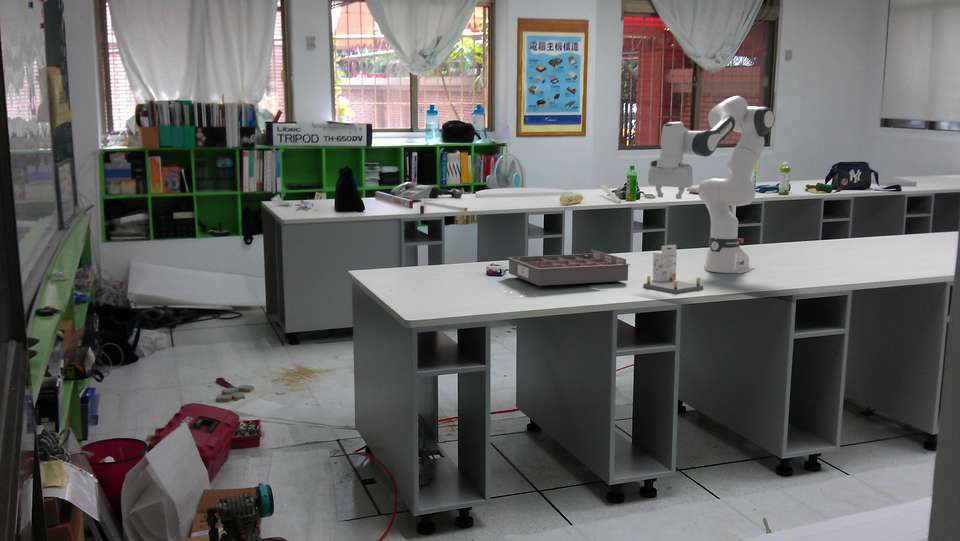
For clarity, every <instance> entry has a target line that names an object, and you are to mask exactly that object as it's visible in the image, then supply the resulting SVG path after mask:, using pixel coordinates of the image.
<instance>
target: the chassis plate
mask: <svg viewBox="0 0 960 541" xmlns="http://www.w3.org/2000/svg"><path fill="white" fill-rule="evenodd" d="M646 277H647V278H646V283H643V284H642V287H643V288H644V289H650V290H655V291H660V292H665V293H670V294H676V295H678V294H681V293H689V292H694V291H700V290H704V285H703V284H701V277H700V276H699V277H698V276H697V277H696V283H692V282H686V281H681V280H677V279H676V280H673V273H670V280H665V281H653V282H652V281H651V275H647V276H646Z"/></svg>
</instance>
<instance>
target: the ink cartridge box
mask: <svg viewBox="0 0 960 541" xmlns="http://www.w3.org/2000/svg"><path fill="white" fill-rule="evenodd" d="M669 248H670V249H669ZM677 254H678V253H677V244H668V245H661V251H653V256H652V257H653V258H652V259H653V261H652V262H653V263H652V281H653V282H658V281H665V280H670V273H673V280H676V281H677V278H676V277H677V275H676V274H677Z"/></svg>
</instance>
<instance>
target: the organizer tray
mask: <svg viewBox="0 0 960 541" xmlns="http://www.w3.org/2000/svg"><path fill="white" fill-rule="evenodd" d="M506 259H508V274H510V275H512V276H514V277H517V278H519V279H522V280H524V281H527V282H529V283H531V284H534V285H536V286H554V285H555V286H557V285H559V286H560V285H576V284H590V283H610V282H612V283H613V282H626V281H627V282H628V280H629V266H631V264H630V263H627V259H626V258H623V257H619V256H617V255H613V254H610V253H609V254H608V253H606V252H602V251H598V250H594V249H591V250H590V253H574V254H573V253H571V254H570V253H569V254H553V255H530V256H529V255H527V256H510V257H509V256H508V257H506Z"/></svg>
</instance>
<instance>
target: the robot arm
mask: <svg viewBox="0 0 960 541" xmlns="http://www.w3.org/2000/svg"><path fill="white" fill-rule="evenodd" d="M748 104H749V103H748V102H747V100H746V99H745V98H744V97H742V96H740V95H734V96H731V97H729V98H726V99H724V100H722V101H721V102H719V103H718V104H716V105H715V106H713V107H712V109H710V111H709V112H708V116H707V117H708V124H709V126H710V127H711V129H710V130H690V129H688V128H686V127H685V126H684V123H683V122H682V121H669V122H666V123H664V125H663V126H662V129H661V137H660V147H661V151H660V155H659V158H657V159H654V160H651V161H649V167H650V168H649V170H648V176H647V183H648V185H649V186H655V190H656V193H657V195H656V196H657V198H664V192H662V187H669V188H678V193H677V194H675V199H676V200H681V199H682V197H683V194H684V191H685V189H691V188H692V187H693V185H694V178H693V177H694V176H693V167H692V165H690V164H689V163H684V162H683V160H684V155H685V156H700V157H704V158H705V157H706V158H707V157H710V156H712V155H713V153H715V151H716V150H717V149H718V146H719V145H720V144H721V143H722V142H723V141H724V140H725V139H726V138H727V137H728V136H729V135H730V133H734V134H738V133H739V134H740V135H741V136H740V139H739V141H738V142H737V144H736V145H735V147H734V148H733V151H732V152H731V154H730V156H729V158H728V160H727V162H726V168H727V171H728V173H729V174H730V176H728V178H719V177H718V178H716V177H713V178H709V179H704V180H703V181H701V182H700V184H699V187H698V196H699V199H700V200H701V201H702V202H703V203H704V205H705V206H706V208H707V210H708V213H709V217H710V236H709V238H708V239H709V240H708V246H709V248H708V249H707V253H706V259H705V265H703V269H704V270H705V271H708V272H712V273H713V272H714V273H720V274H723V273H724V274H743V273H747V272H749V271H753V270H755V267H754V266H750V256H749V255H748V253H746V252H745V251H744V250H743V248H741V247H740V246H741V245H740V244H744V238H738V231H739V220H738V217H736V216H735V215H734V214H733V213H732V212H731V209H730V206H734V207H741V206H742V207H743V206H748V205H750V204H752V202H753V201H754V199H755V197H756V188H755V186H754V184H753V183H752V181H751V179H752V177H751V176H752V173H753V171H754V170H755V167H756V165H757V163H758V162H759V160H760V157H761V155H762V152H763V151H764V150H763V149H764V146H765V137H767V135H768V134H769V133H770V131H771V130H772V128H773V127H774V124H775V122H776V121H775V120H776V119H775V114H774V111H773V110H772V109H771V108H770V107H767V106H749V105H748Z"/></svg>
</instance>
